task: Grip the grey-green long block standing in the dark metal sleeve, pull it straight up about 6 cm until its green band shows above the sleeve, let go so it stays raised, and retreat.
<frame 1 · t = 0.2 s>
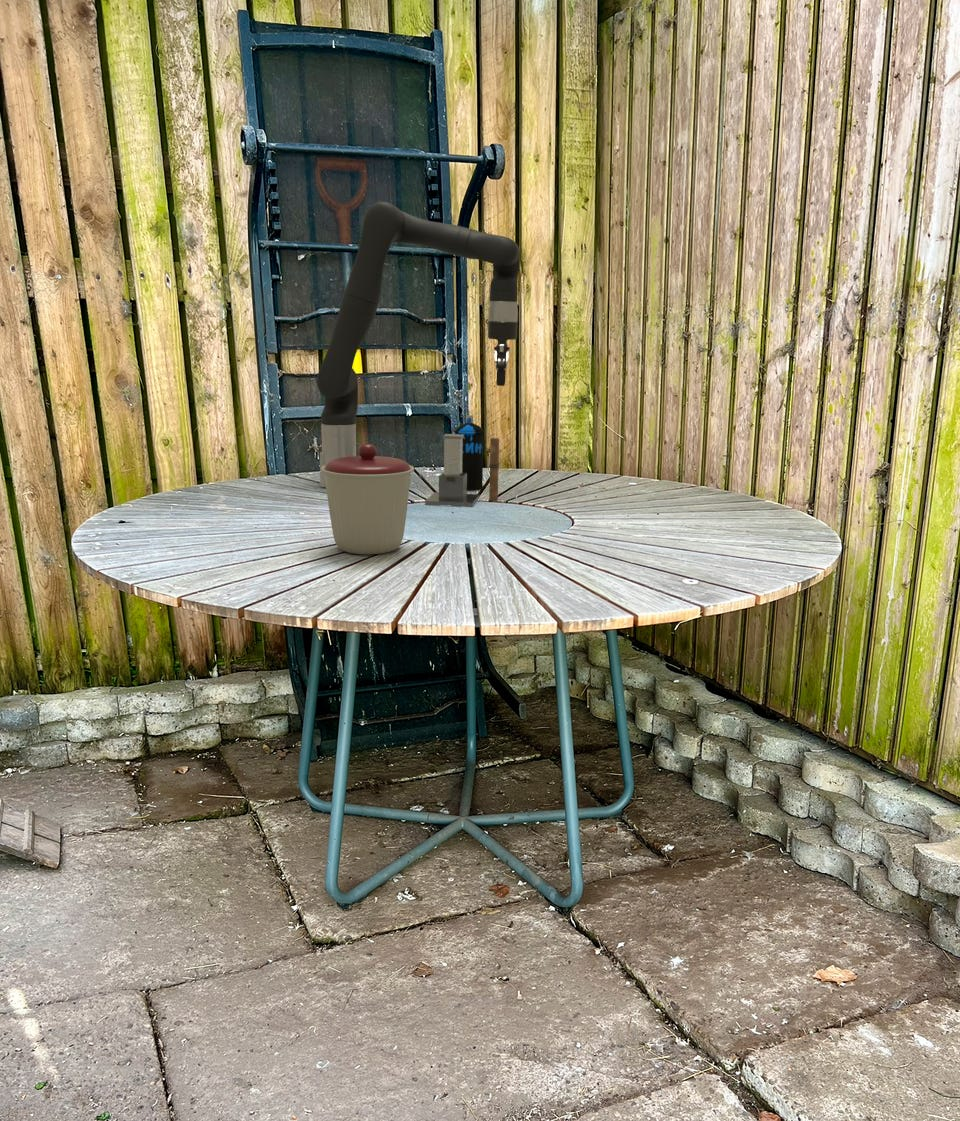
hand: (500, 384, 233), 29 cm above the table, tool pointing down, fingers open, 8 cm apart
canister: (368, 550, 179), on the table
banded wooden rod: (493, 500, 231), on the table
stand base: (452, 501, 229), on the table
grey-green long block: (453, 466, 226), point 9 cm above the table, slide at 0.0 cm
aerosol can: (468, 488, 248), on the table
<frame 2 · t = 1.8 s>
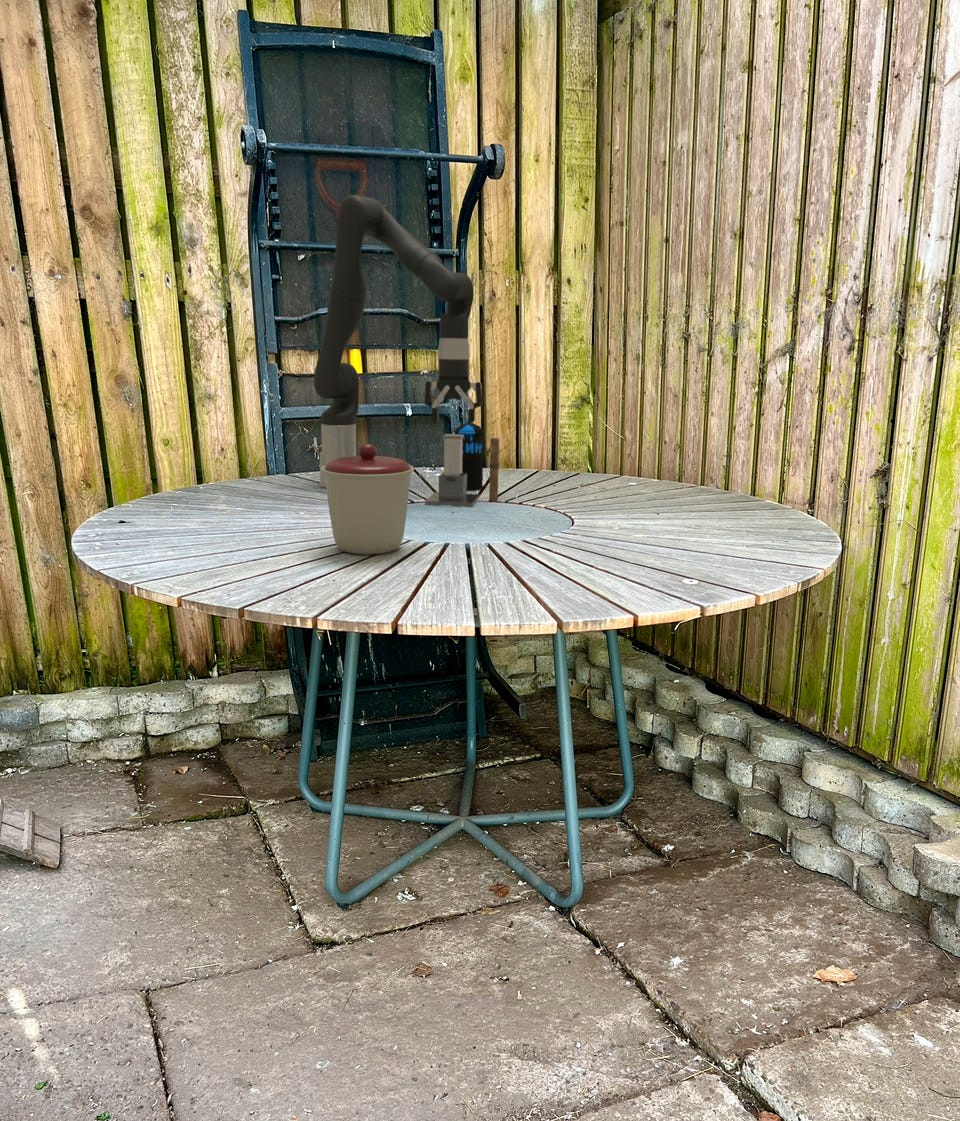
hand: (453, 423, 224), 20 cm above the table, tool pointing down, fingers open, 8 cm apart
nothing on the table moved.
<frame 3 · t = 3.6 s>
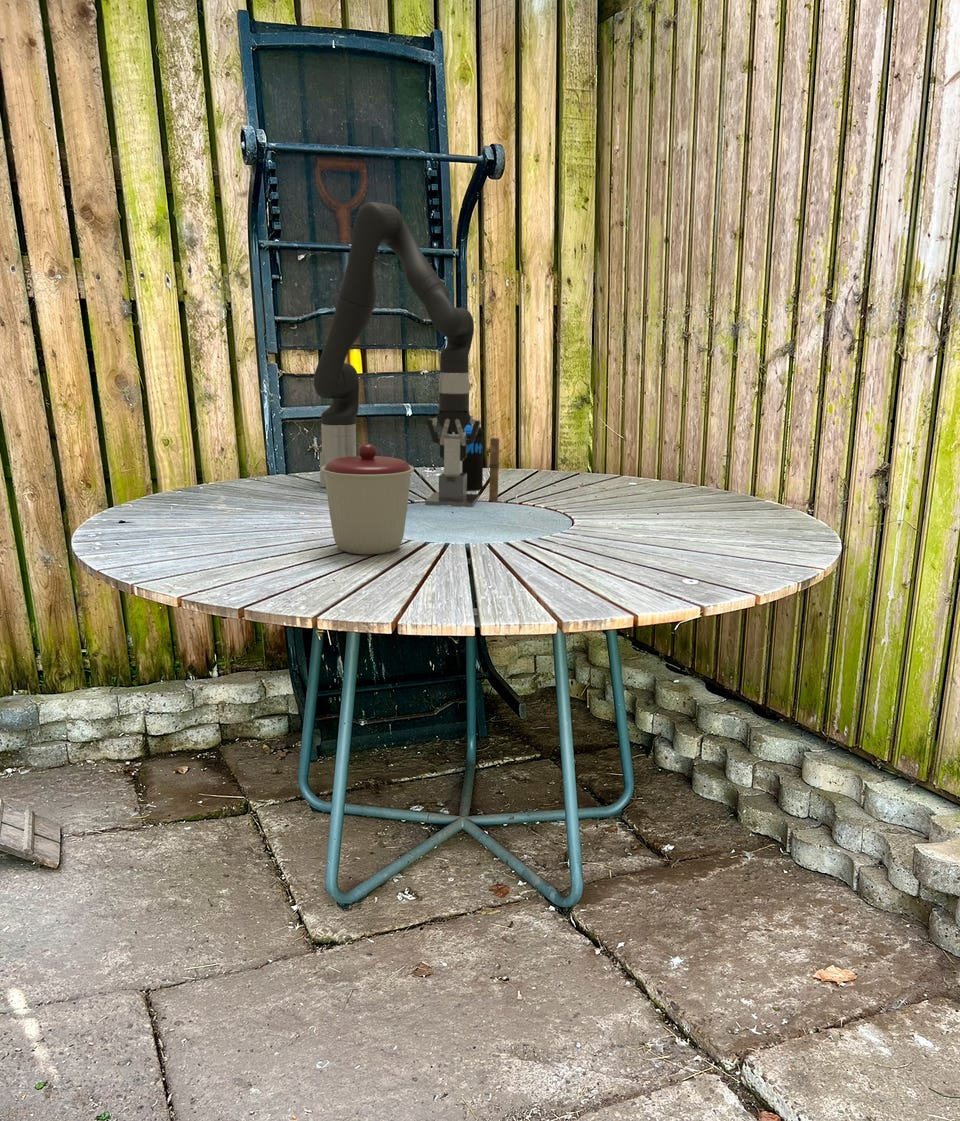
hand: (453, 459, 226), 11 cm above the table, tool pointing down, fingers closed on grey-green long block, 4 cm apart
grey-green long block: (453, 466, 226), point 9 cm above the table, slide at 0.0 cm, touching gripper
everything else where it was.
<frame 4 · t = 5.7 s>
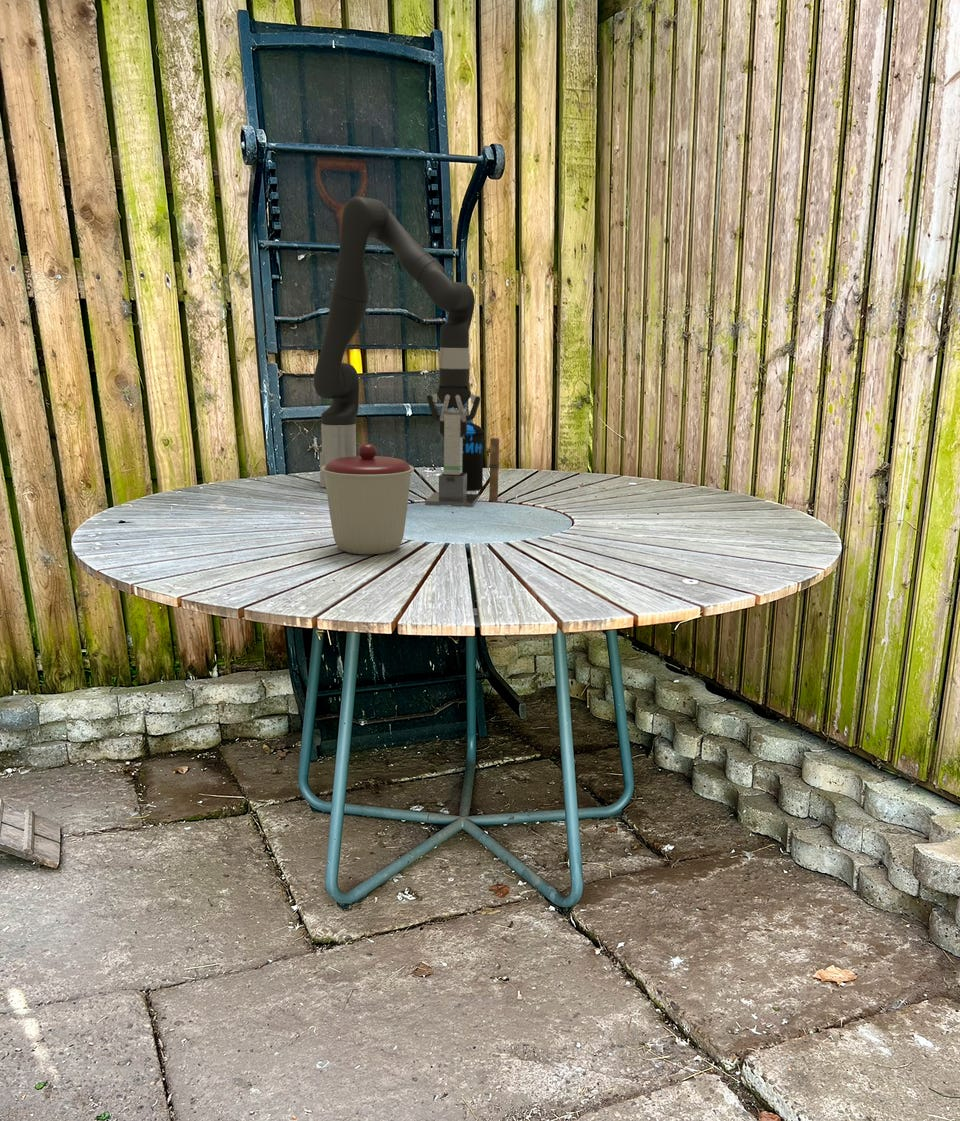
hand: (453, 436, 224), 17 cm above the table, tool pointing down, fingers closed on grey-green long block, 4 cm apart
grey-green long block: (453, 442, 225), point 15 cm above the table, slide at 5.9 cm, touching gripper
everything else where it was.
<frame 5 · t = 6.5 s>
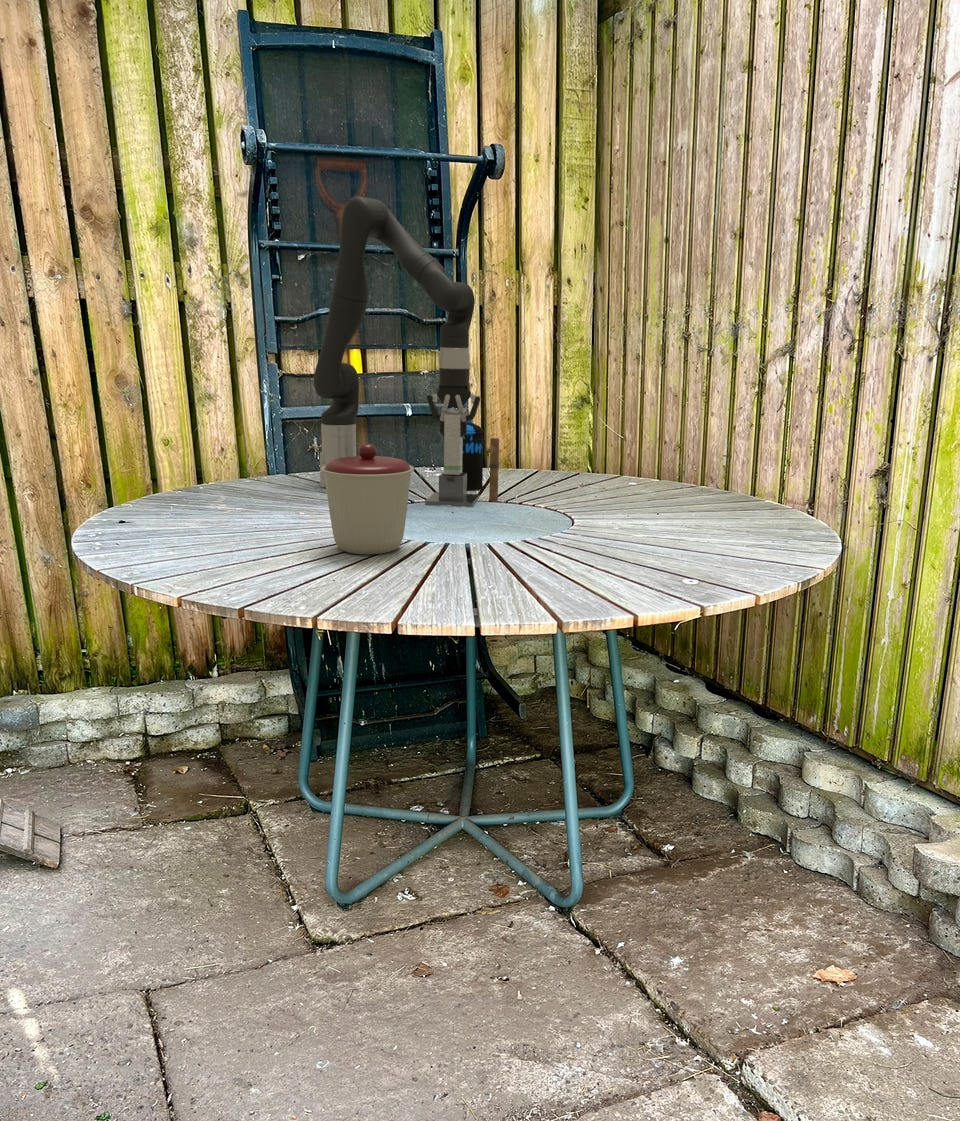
hand: (453, 436, 224), 17 cm above the table, tool pointing down, fingers closed on grey-green long block, 4 cm apart
grey-green long block: (453, 442, 225), point 15 cm above the table, slide at 5.9 cm, touching gripper
everything else where it was.
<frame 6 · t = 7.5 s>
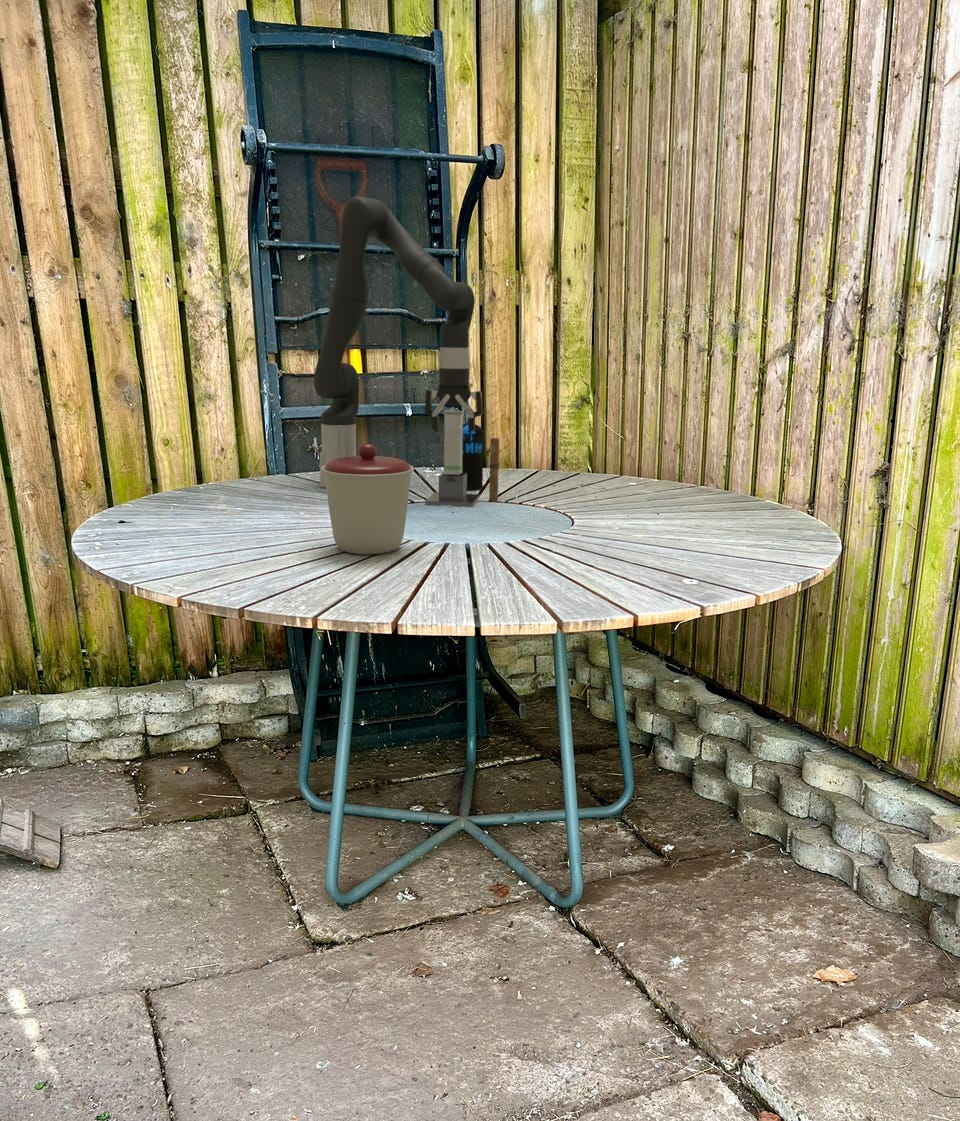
hand: (453, 432, 224), 18 cm above the table, tool pointing down, fingers open, 8 cm apart
grey-green long block: (453, 442, 225), point 15 cm above the table, slide at 6.0 cm
everything else where it was.
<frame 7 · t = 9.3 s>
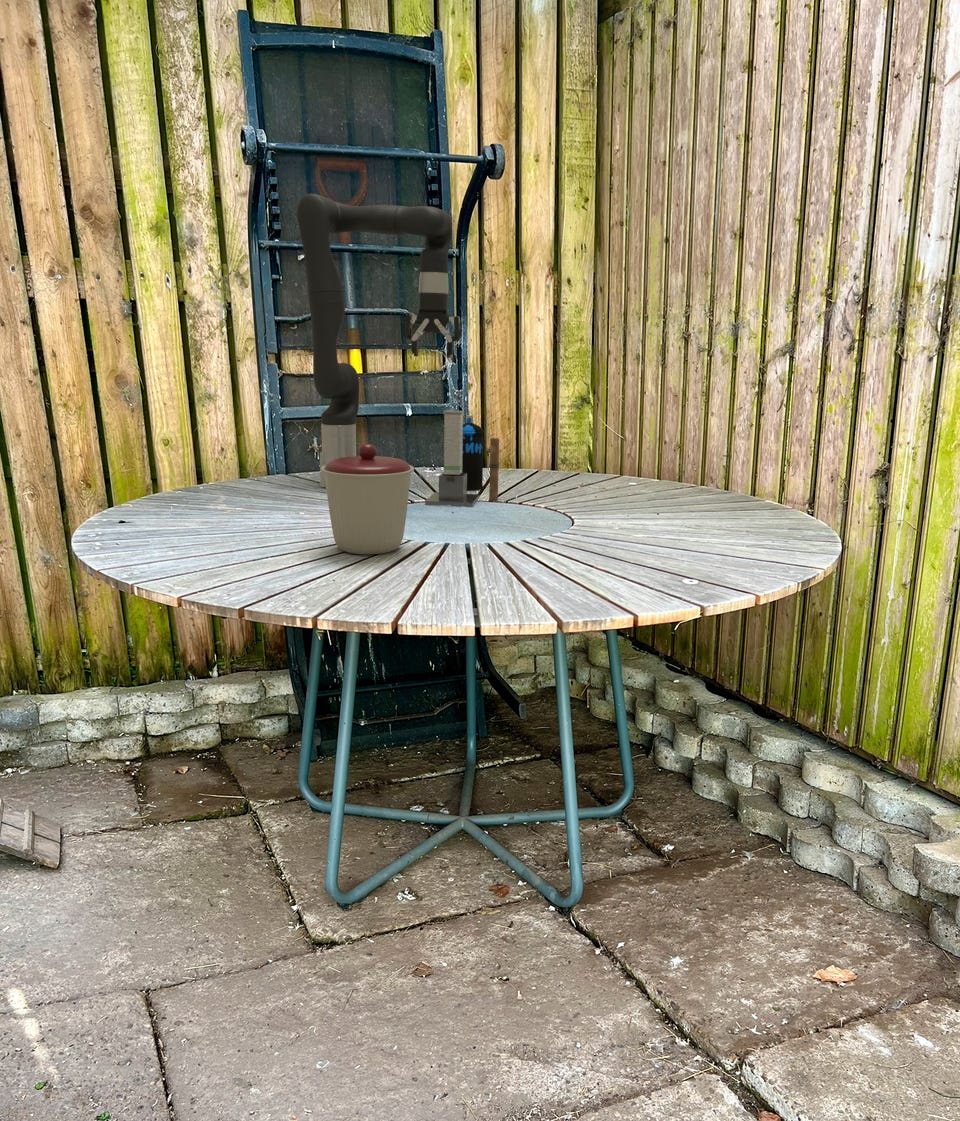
hand: (432, 356, 232), 36 cm above the table, tool pointing down, fingers open, 8 cm apart
nothing on the table moved.
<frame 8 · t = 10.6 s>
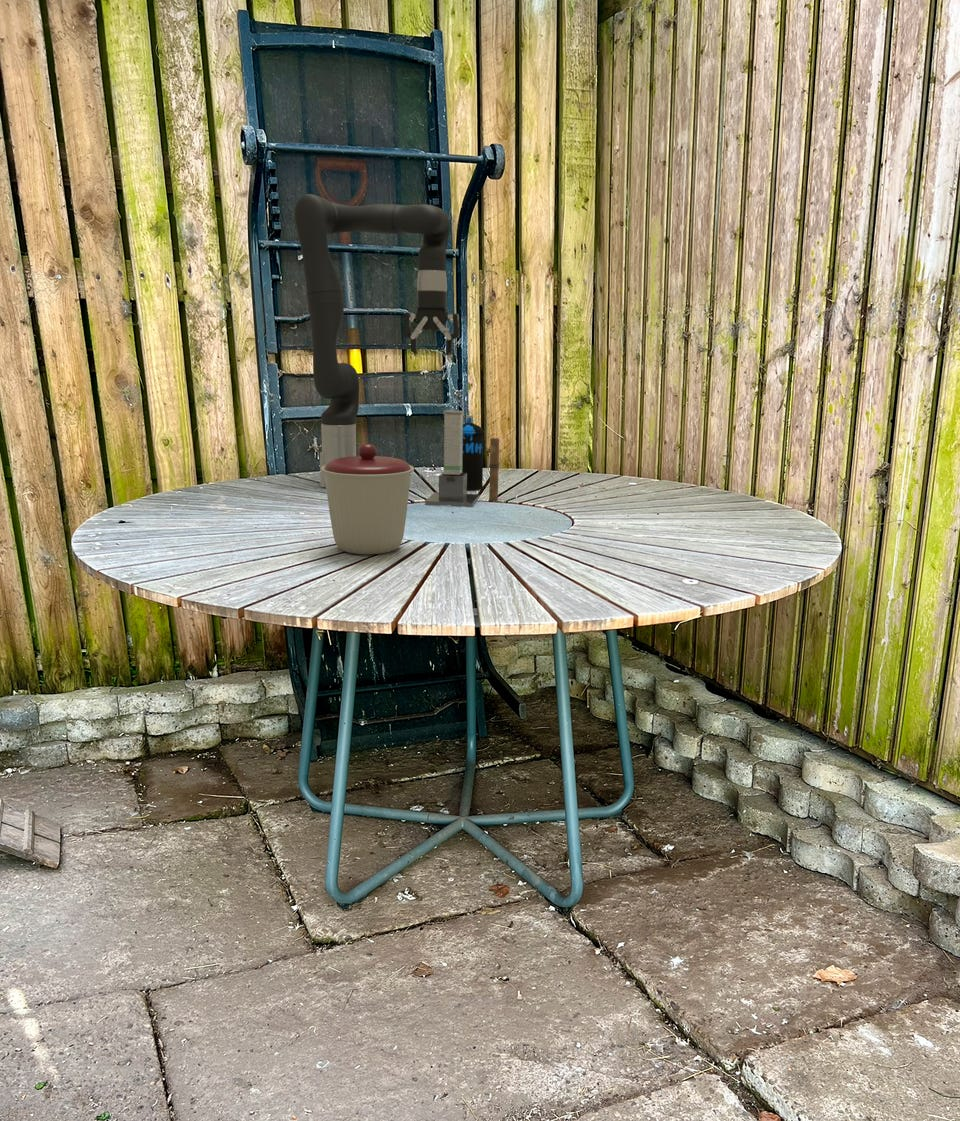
hand: (431, 354, 232), 36 cm above the table, tool pointing down, fingers open, 8 cm apart
nothing on the table moved.
at the end: grey-green long block slide at 6.0 cm; the gripper is holding nothing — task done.
